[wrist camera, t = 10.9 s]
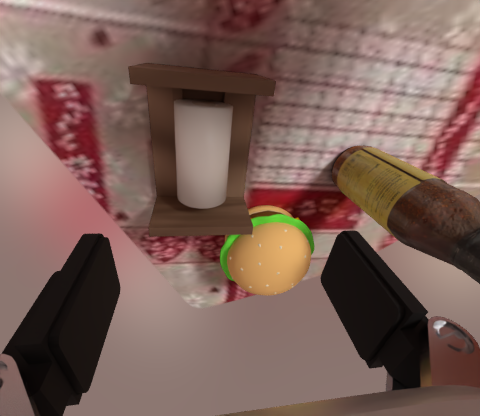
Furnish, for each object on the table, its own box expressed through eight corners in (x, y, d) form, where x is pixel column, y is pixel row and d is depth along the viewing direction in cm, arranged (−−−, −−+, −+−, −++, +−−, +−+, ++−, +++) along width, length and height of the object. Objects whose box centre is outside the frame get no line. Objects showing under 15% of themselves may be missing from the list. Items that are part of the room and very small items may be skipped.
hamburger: (214, 264, 36) (219, 317, 29) (220, 194, 30) (228, 238, 23) (290, 262, 38) (312, 311, 31) (310, 196, 32) (343, 238, 25)
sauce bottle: (330, 194, 32) (471, 341, 16) (328, 150, 29) (506, 280, 12) (377, 180, 32) (568, 313, 16) (381, 134, 29) (630, 244, 12)
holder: (146, 63, 22) (128, 66, 16) (255, 74, 23) (275, 81, 18) (158, 199, 29) (149, 236, 23) (241, 200, 31) (252, 234, 25)
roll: (177, 96, 23) (169, 104, 18) (230, 100, 23) (235, 110, 19) (180, 185, 27) (174, 208, 23) (224, 187, 28) (227, 210, 24)
